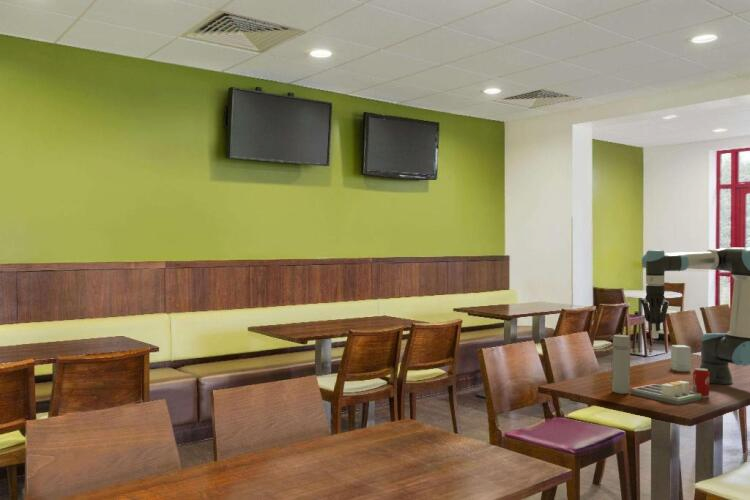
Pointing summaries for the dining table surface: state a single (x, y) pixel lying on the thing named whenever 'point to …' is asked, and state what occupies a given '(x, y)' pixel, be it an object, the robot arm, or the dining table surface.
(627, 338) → the water bottle
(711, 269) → the robot arm
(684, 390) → the block
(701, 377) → the beverage can
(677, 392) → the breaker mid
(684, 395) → the panel
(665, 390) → the block
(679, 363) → the supplement box
